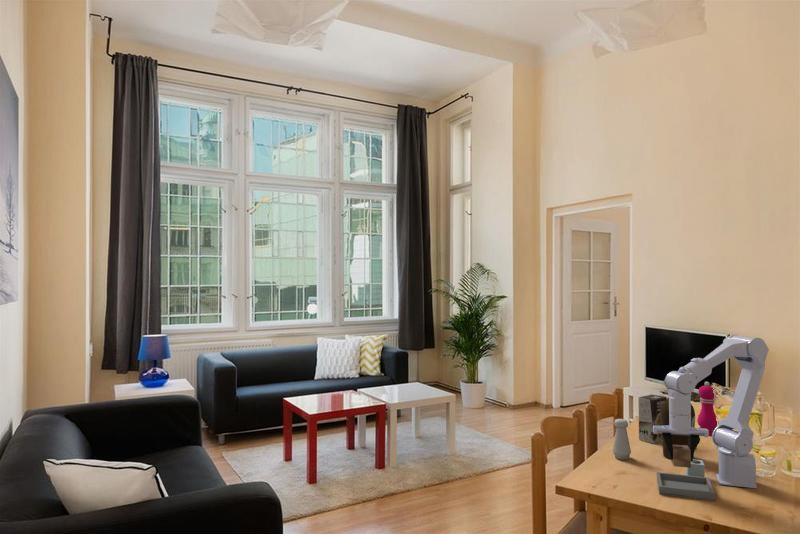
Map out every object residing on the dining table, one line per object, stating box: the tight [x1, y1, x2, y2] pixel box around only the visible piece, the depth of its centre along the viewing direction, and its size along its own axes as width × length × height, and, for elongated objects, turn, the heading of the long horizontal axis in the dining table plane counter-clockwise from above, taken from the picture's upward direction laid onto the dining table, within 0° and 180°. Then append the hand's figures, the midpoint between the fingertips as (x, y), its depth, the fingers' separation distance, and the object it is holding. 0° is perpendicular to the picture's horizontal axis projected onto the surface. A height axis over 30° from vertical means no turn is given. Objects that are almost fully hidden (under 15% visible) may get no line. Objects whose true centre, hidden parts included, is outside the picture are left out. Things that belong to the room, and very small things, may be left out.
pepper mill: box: [696, 381, 717, 437], centre depth 216 cm, size 7×7×20 cm
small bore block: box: [670, 445, 691, 468], centre depth 164 cm, size 4×4×5 cm
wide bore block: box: [685, 458, 706, 477], centre depth 171 cm, size 4×4×5 cm
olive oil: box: [660, 396, 696, 460], centre depth 190 cm, size 11×11×25 cm
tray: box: [656, 471, 716, 502], centre depth 162 cm, size 14×12×2 cm
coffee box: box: [638, 394, 668, 444], centre depth 209 cm, size 9×6×16 cm
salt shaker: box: [612, 418, 632, 461], centre depth 190 cm, size 6×6×13 cm
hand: (680, 459), depth 164 cm, fingers closed on small bore block, 4 cm apart
